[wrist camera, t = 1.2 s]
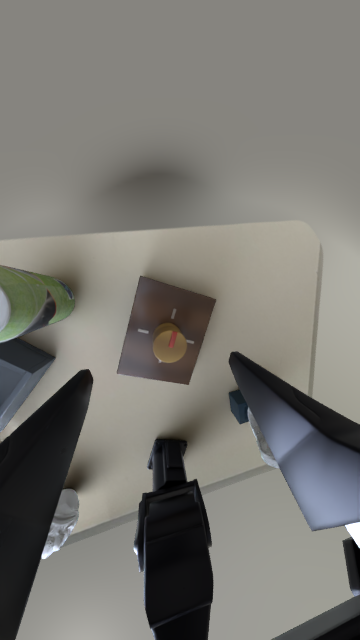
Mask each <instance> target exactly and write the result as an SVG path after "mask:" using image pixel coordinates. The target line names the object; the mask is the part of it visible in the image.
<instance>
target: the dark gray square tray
mask: <svg viewBox="0 0 360 640" xmlns="http://www.w3.org/2000/svg"><path fill="white" fill-rule="evenodd" d="M55 359H56V358H55V357H53V356H51V355H50V354H48V353H46V352H44V351H42V350H40V349H38V348H36V347H34V346H32V345H30V344H28V343H26V342H24V341H22V340H20V339H18V338H14V339H11V340H8V341H5V342H2V343H0V432H1V431H2V430H3V429H4V428H5V426H6V425H7V424H8V422H9V421H10V420H11V418H12V417H13V416H14V414H15V413H16V412H17V410H18V409H19V407H20V406H21V405H22V403H23V402H24V401H25V399H26V398H27V397H28V395H29V394H30V393H31V391H32V390H33V388H34V387H35V386H36V384H37V383H38V382H39V380H40V379H41V378H42V376H43V375H44V374H45V372H46V371H47V369H48V368H49V367H50V365H51V364H52V363H53V361H54V360H55Z"/></svg>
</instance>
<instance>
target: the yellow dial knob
mask: <svg viewBox="0 0 360 640" xmlns="http://www.w3.org/2000/svg"><path fill="white" fill-rule="evenodd" d="M186 350H187V341H186V339H185V337H184V336H183V334H182V333H181V331H180V330H179V328H178V327H177V326H176V325H174V324H172V323H163V324H161V325H159V326H158V327H157V328H156V329H155V331H154V333H153V352H154V354H155V356H156V357H157V358H158V359H159V360H161V361H163V362H167V363H171V362H175V361H178V360H179V359H181V358H182V357H183V356H184V354H185V352H186Z"/></svg>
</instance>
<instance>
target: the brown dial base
mask: <svg viewBox="0 0 360 640" xmlns="http://www.w3.org/2000/svg"><path fill="white" fill-rule="evenodd" d="M215 302H216V299H213V298H210V297H207V296H204V295H200V294H197V293H194V292H191V291H188V290H184V289H181V288H178V287H175V286H172V285H168V284H165V283H162V282H159V281H155V280H152V279H149V278H146V277H143V276H140V279H139V283H138V287H137V291H136V295H135V300H134V304H133V308H132V312H131V316H130V320H129V324H128V328H127V333H126V337H125V341H124V345H123V349H122V353H121V357H120V361H119V366H118V370H117V374H121V375H127V376H134V377H141V378H147V379H154V380H160V381H167V382H173V383H180V384H186V385H189V382H190V379H191V376H192V373H193V370H194V367H195V363H196V360H197V357H198V354H199V351H200V348H201V345H202V342H203V339H204V336H205V333H206V330H207V327H208V323H209V320H210V317H211V314H212V311H213V308H214V305H215ZM163 323H172V324H174V325H176V326H177V327H178V328H179V330H180V331H181V333H182V334H183V336H184V337H185V339H186V341H187V350H186V352H185V354H184V356H183V357H182V358H181V359H179V360H178V361H175V362H171V363H167V362H163V361H161V360H159V359H158V358H157V357H156V356H155V354H154V352H153V333H154V331H155V329H156V328H157V327H158V326H159V325H161V324H163Z"/></svg>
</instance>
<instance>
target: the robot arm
mask: <svg viewBox="0 0 360 640" xmlns="http://www.w3.org/2000/svg"><path fill="white" fill-rule="evenodd" d="M229 365H230V367H231V370H232V373H233V375H234V378H235V380H236V383H237V385H238V387H239V389H240V391H241V393H242V395H243V397H244V399H245V401H246V403H247V405H248V407H249V409H250V411H251V413H252V415H253V417H254V419H255V421H256V423H257V425H258V426H259V428H260V430H261V432H262V434H263V436H264V438H265V440H266V442H267V444H268V446H269V448H270V450H271V452H272V454H273V456H274V458H275V460H276V462H277V463H278V466H279V468H280V470H281V472H282V474H283V476H284V478H285V480H286V482H287V483H288V486H289V488H290V489H291V491H292V494H293V495H294V497H295V499H296V501H297V503H298V505H299V507H300V509H301V511H302V513H303V515H304V517H305V519H306V521H307V523H308V525H309V527H310V528H311V530H312V531H317V530H322V529H328V528H333V527H339V526H345V527H346V529H347V530H348V532H349V533H350V535H351V536H352V537H350V538H348V539H345V540H343V547H344V553H345V559H346V566H347V571H348V578H349V584H350V589H351V591H352V593H353V595H354V596H355V597H353V598H351V599H350V600H347V601H345V602H344V603H342V604H340V605H338V606H336V607H334V608H332V609H330V610H328V611H326V612H324V613H322V614H320V615H318V616H316V617H314V618H313V619H310V620H309V621H307V622H305V623H303V624H301V625H299V626H297V627H295V628H293V629H291V630H289V631H287V632H285V633H283V634H281V635H280V636H278V637H275V638H273V639H272V640H360V424H357V423H355V422H353V421H351V420H350V419H348V418H346V417H344V416H342V415H341V414H339V413H337V412H335V411H333V410H332V409H330V408H328V407H326V406H324V405H323V404H321V403H319V402H318V401H316V400H314V399H312V398H311V397H309V396H307V395H306V394H304V393H302V392H301V391H299V390H298V389H296V388H294V387H293V386H291V385H290V384H288V383H286V382H285V381H283V380H282V379H280V378H279V377H277V376H275V375H274V374H272V373H271V372H269V371H268V370H266V369H264V368H263V367H261V366H260V365H258V364H256V363H255V362H253V361H252V360H250V359H249V358H247V357H245V356H244V355H242V354H241V353H239V352H237V351H236V352H231V354H230V358H229ZM92 385H93V377H92V374H91V372H90V370H89V369H85V370H80V371H79V372H78V373H77V374H76V375H75V376H74V377H72V378H71V379H70V380H69V381H68V382H67V383H66V384H65V385H64V386H63V387H62V388H60V389H59V390H58V391H57V392H56V393H55V394H54V395H53V396H52V397H51V398H50V399H48V400H47V401H46V402H45V403H44V404H43V405H42V406H41V407H40V408H39V409H38V410H36V411H35V412H34V413H33V414H32V415H31V416H30V417H29V418H28V419H27V420H26V421H24V422H23V423H22V424H21V425H20V426H19V427H18V428H17V429H16V430H15V431H14V432H12V433H11V434H10V436H8V437H7V438H6V439H5V440H4V441H3V442H1V443H0V640H15V639H16V636H17V633H18V629H19V626H20V623H21V620H22V617H23V614H24V611H25V607H26V604H27V601H28V597H29V594H30V591H31V588H32V585H33V582H34V579H35V575H36V572H37V569H38V566H39V563H40V560H41V557H42V553H43V550H44V547H45V544H46V541H47V537H48V534H49V531H50V526H51V524H52V521H53V518H54V515H55V512H56V508H57V505H58V502H59V499H60V496H61V493H62V489H63V486H64V483H65V480H66V477H67V473H68V470H69V467H70V464H71V461H72V458H73V454H74V451H75V448H76V445H77V442H78V438H79V435H80V432H81V429H82V426H83V423H84V419H85V416H86V413H87V410H88V405H89V401H90V396H91V391H92ZM186 448H187V441H179V440H162V439H157V440H155V442H154V446H153V449H152V452H151V455H150V459H149V462H148V466H147V468H148V469H153V492H149V493H143V495H142V501H141V502H140V503H139V513H138V523H137V529H136V535H135V541H134V551H135V552H136V554H137V556H138V562H139V572H142V571H144V605H145V610H146V614H147V618H148V622H149V625H150V628H151V629H152V632H153V635H154V639H155V640H208V632H209V620H210V609H211V603H212V600H213V572H212V566H211V560H210V555H209V550H208V548H209V547H211V546H212V541H211V533H210V527H209V522H208V517H207V513H206V509H205V505H204V502H203V499H202V495H201V492H200V488H199V485H198V481H197V479H194V481H190V482H187V477H186V471H185V466H184V460H183V456H184V453H185V451H186Z"/></svg>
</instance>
